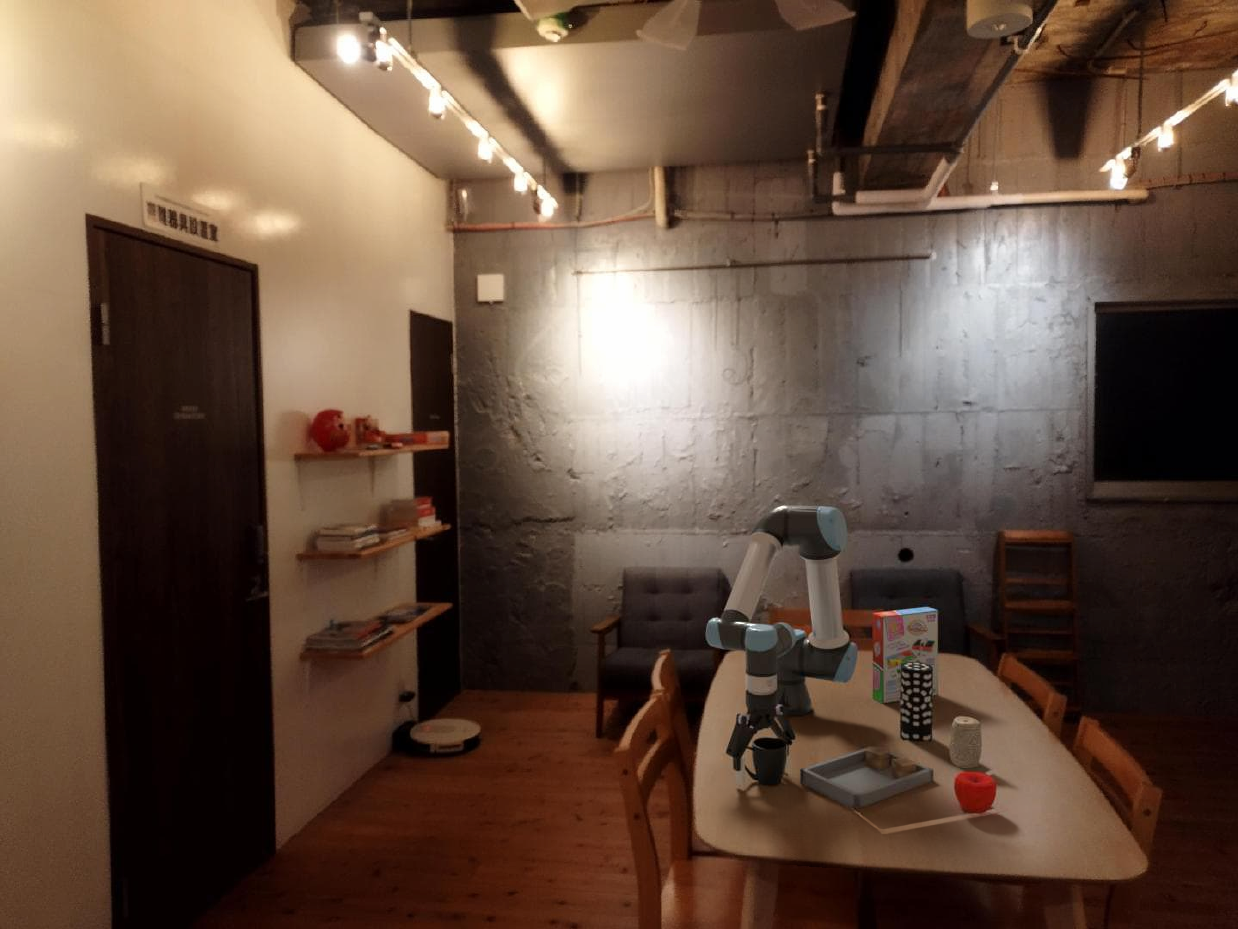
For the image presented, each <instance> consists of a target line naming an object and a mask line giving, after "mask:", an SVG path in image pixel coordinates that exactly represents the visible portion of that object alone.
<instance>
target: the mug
mask: <svg viewBox="0 0 1238 929" xmlns="http://www.w3.org/2000/svg"><path fill="white" fill-rule="evenodd" d="M751 743H752V744H751V745H752V746H749V745H748V747H747V749H746V750H750V751H752V763H753V767H754V771H755V772H754V773H753V772H752V771H751V770H750V769H749V768H748V767H747V765H746V764H745V772H746V773H747V774H748V775H749V777H750V778H751V779H752V780H754V781H757V782H758V783H759V784H760V785H762V786H766V787H776V786H779V785H780V784H781V783H782V780H783V776H784V773H785V772H784V770H785V765H786V758H787V759H788V756H787V744H786V742H785V741H783V740H781V739H779V738H778V737H771V736H762V737H758V738H757V737H756V738H755V739H752V742H751ZM738 752H739V751H738Z"/></svg>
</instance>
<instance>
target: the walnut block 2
mask: <svg viewBox="0 0 1238 929" xmlns="http://www.w3.org/2000/svg"><path fill="white" fill-rule="evenodd" d="M903 757H904V756H903ZM914 762H915V761H914ZM914 762H913V760H911V759H910V758H908V757H907V756H906V757H904V758H898V759H892V776H893V777H895V778H896V779H899V778H902V777H905V776H908V775H911V774H913V773H916V763H917V762H916V763H914Z"/></svg>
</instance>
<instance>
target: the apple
mask: <svg viewBox="0 0 1238 929" xmlns="http://www.w3.org/2000/svg"><path fill="white" fill-rule="evenodd" d="M953 790H954V794H955V797H956V799H957V801H958V803H959V805H960V807H961V808H962V810H965V811H966V812H970V813H972V814H983V813H986V812H987V811H989V810H990V808H991V807H992V806H993V804H994V801H995V799H996V797H997V784H996V781H995V779H994V778H993V777H991V776H990V775H987V774H984V773H982V772H976V771H975V772H974V771H963V772H959V773H958V774H957V775H956V776H955V778H954V784H953Z"/></svg>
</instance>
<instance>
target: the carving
mask: <svg viewBox="0 0 1238 929" xmlns="http://www.w3.org/2000/svg"><path fill="white" fill-rule="evenodd" d="M982 746H983V738H982V726H981V723H980V721H979V720H977V719H976V718H973V717H969V716H963V715H962V716H956V717H954V719H953V721H952V725H951V730H950V741H949V757H950V762H951V763H952V764H953V765H954V766H956V767H958V768H962V769H975V768H977V767H979V763H980V760H981V757H982V751H983V750H982Z"/></svg>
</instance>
